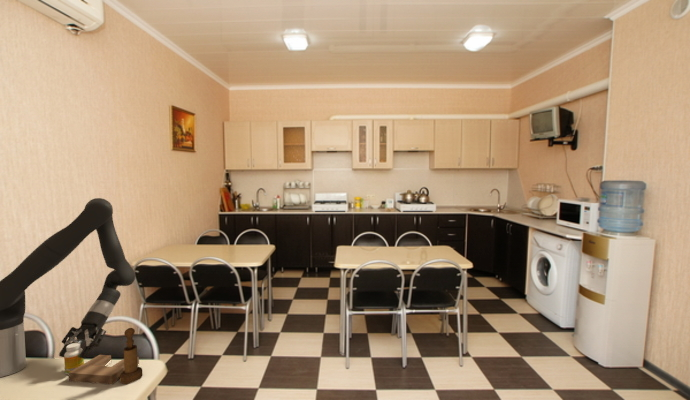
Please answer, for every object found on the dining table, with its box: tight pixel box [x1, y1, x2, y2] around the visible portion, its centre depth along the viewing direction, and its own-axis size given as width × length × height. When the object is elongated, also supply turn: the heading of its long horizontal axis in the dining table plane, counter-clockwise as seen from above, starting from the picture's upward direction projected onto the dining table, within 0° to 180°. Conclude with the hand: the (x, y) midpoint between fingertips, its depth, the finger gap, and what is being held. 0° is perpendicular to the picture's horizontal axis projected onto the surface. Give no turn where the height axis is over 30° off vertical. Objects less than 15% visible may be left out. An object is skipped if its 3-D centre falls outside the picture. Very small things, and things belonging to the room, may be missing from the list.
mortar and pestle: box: [119, 327, 144, 385], centre depth 111 cm, size 7×6×18 cm
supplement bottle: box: [63, 342, 85, 375], centre depth 117 cm, size 5×5×10 cm
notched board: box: [68, 354, 140, 385], centre depth 115 cm, size 17×12×3 cm
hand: (71, 357), depth 116 cm, fingers open, 8 cm apart
